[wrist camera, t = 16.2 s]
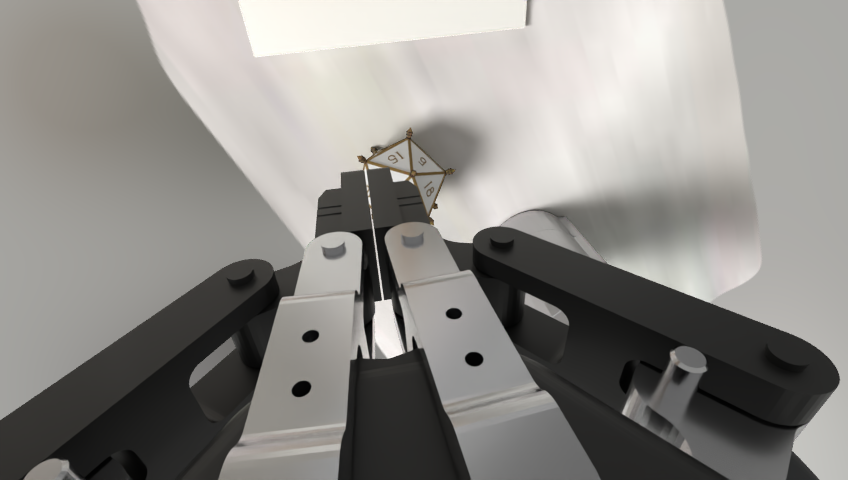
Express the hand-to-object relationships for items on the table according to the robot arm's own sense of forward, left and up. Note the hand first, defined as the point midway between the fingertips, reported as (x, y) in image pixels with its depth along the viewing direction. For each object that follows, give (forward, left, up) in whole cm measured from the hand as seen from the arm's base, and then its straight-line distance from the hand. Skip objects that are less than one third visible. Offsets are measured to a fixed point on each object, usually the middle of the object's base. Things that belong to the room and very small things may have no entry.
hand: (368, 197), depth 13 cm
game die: (-3, +11, -26) cm, 28 cm away
